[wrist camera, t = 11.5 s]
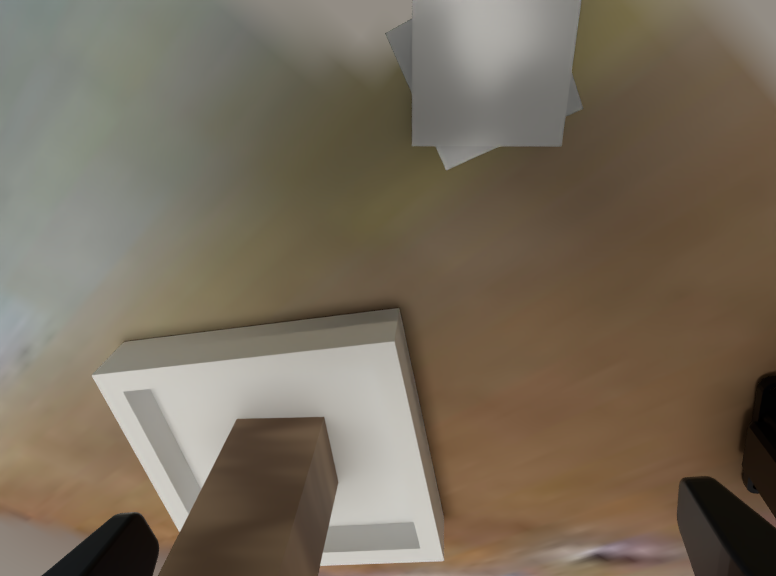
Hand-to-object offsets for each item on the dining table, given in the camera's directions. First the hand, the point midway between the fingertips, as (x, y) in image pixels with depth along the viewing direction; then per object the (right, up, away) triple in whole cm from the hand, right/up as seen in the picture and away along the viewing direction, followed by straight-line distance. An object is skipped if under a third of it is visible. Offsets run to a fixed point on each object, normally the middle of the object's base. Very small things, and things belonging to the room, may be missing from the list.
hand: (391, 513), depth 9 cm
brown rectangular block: (-5, -4, +16) cm, 18 cm away
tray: (-5, -4, +17) cm, 18 cm away
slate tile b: (+3, +11, +9) cm, 14 cm away
